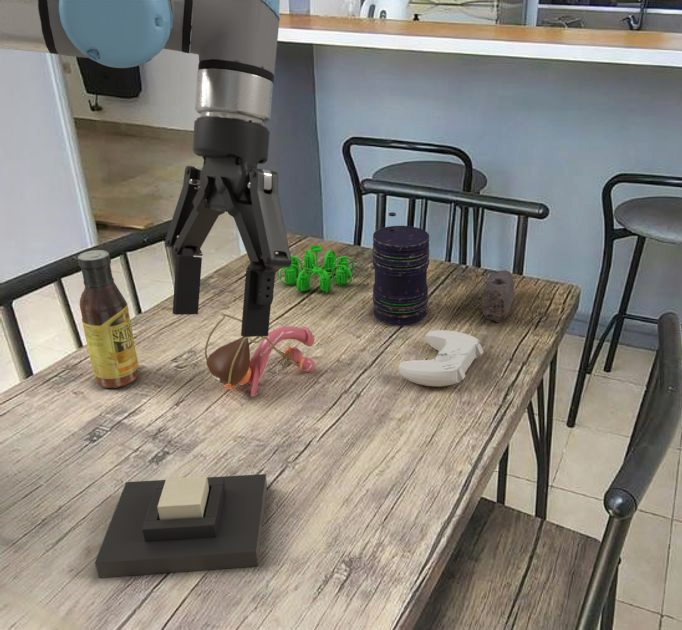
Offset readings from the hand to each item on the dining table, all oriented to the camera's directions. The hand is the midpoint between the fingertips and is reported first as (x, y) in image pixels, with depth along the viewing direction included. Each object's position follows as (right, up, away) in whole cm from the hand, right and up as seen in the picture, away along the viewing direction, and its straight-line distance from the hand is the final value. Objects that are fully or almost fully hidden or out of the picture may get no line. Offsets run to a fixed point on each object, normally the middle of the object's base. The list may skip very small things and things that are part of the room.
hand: (217, 324), depth 73 cm
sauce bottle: (-24, -9, +30) cm, 39 cm away
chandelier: (+1, +8, +62) cm, 62 cm away
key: (-4, -20, +2) cm, 20 cm away
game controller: (+25, -8, +34) cm, 43 cm away
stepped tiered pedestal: (-4, -23, +3) cm, 23 cm away
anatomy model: (-2, -9, +30) cm, 32 cm away
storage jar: (+18, +1, +50) cm, 53 cm away
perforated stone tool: (+36, +2, +53) cm, 64 cm away
